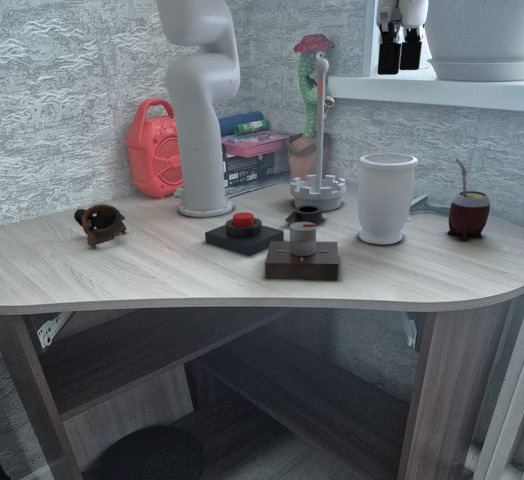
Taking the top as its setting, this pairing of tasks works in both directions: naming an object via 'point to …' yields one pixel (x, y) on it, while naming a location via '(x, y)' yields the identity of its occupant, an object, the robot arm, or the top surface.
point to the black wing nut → (306, 214)
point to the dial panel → (302, 262)
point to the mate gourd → (468, 211)
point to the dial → (302, 238)
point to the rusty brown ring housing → (100, 223)
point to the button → (243, 219)
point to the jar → (385, 196)
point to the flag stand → (319, 162)
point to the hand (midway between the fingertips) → (398, 72)
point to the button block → (244, 237)
